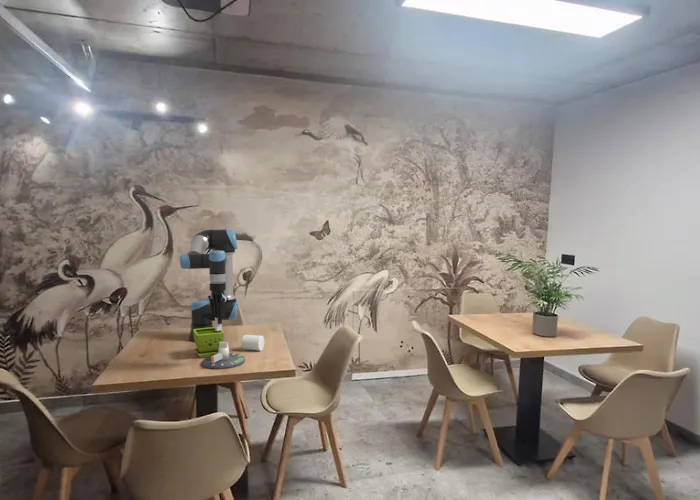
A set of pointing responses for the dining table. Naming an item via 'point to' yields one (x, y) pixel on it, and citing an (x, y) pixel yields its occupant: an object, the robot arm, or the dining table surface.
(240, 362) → the dial
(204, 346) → the flower pot
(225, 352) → the white lumpy piece
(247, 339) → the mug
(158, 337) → the dining table surface
